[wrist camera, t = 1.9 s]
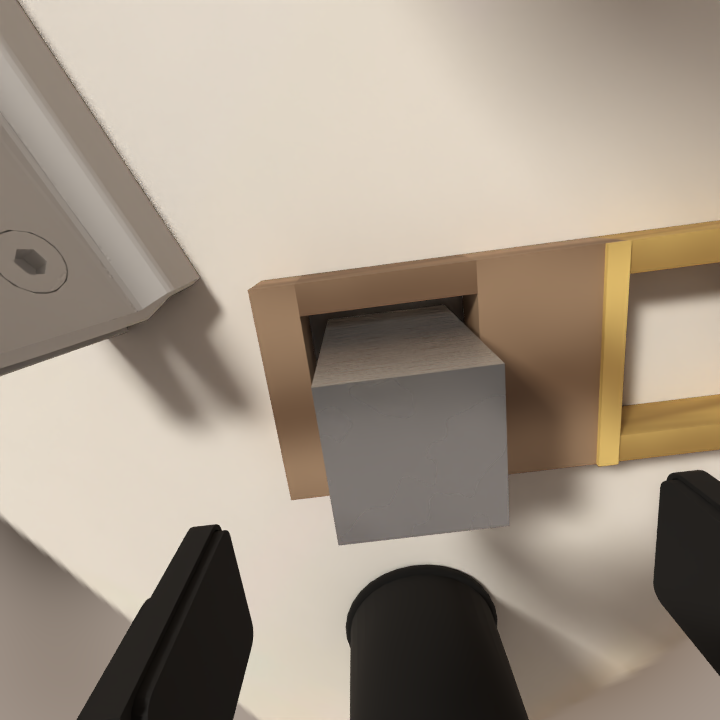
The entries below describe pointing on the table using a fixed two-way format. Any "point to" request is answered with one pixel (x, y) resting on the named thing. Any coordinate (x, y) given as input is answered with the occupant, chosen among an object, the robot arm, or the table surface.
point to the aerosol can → (428, 650)
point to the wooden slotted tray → (507, 346)
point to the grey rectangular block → (411, 426)
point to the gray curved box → (68, 215)
